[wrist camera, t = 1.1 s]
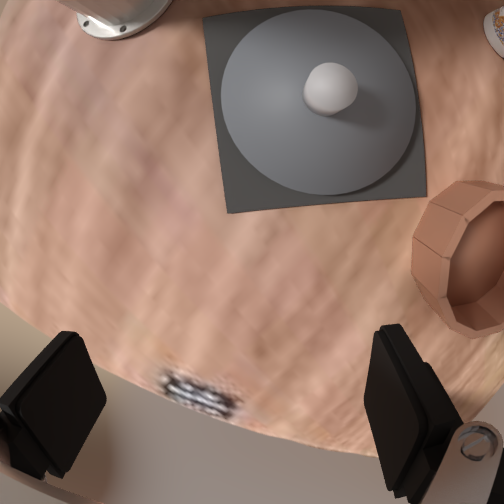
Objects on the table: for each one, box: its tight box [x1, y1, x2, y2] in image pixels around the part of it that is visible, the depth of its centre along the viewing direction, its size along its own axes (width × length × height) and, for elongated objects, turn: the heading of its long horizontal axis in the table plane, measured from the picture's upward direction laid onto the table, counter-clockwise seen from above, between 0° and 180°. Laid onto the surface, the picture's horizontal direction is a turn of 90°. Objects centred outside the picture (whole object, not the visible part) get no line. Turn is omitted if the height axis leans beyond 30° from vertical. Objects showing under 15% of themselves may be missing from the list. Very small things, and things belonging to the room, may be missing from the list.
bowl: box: [411, 181, 504, 339], centre depth 28 cm, size 16×16×7 cm
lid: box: [221, 9, 416, 195], centre depth 25 cm, size 19×19×6 cm
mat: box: [203, 6, 426, 214], centre depth 28 cm, size 21×21×1 cm
